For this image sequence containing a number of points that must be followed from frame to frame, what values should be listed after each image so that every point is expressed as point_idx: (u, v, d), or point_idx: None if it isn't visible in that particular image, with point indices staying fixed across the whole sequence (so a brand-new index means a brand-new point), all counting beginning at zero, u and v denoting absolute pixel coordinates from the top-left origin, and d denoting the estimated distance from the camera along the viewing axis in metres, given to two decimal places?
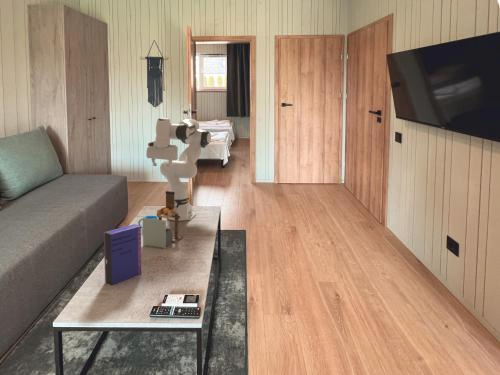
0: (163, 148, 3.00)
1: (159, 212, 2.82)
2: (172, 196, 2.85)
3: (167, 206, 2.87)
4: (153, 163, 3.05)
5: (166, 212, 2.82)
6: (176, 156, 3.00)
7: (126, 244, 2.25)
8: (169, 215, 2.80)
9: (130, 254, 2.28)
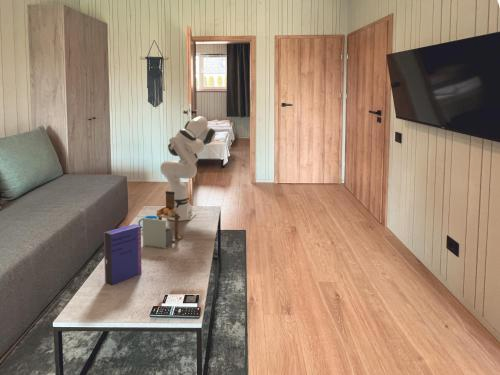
0: None
1: (159, 212, 2.82)
2: (172, 196, 2.85)
3: (167, 206, 2.87)
4: (180, 162, 2.84)
5: (166, 212, 2.82)
6: None
7: (126, 244, 2.25)
8: (169, 215, 2.80)
9: (130, 254, 2.28)
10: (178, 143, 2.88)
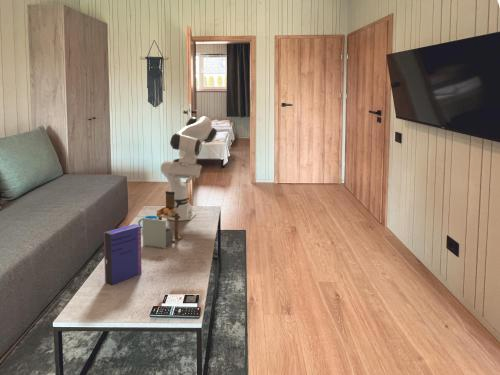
0: (187, 164, 3.00)
1: (159, 212, 2.82)
2: (172, 196, 2.85)
3: (167, 206, 2.87)
4: (172, 178, 2.98)
5: (166, 212, 2.82)
6: (198, 173, 2.97)
7: (126, 244, 2.25)
8: (169, 215, 2.80)
9: (130, 254, 2.28)
10: None
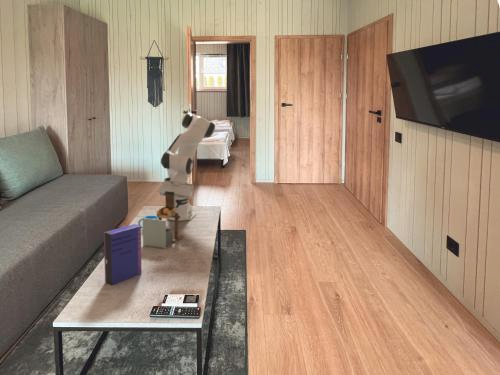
0: (179, 184, 2.91)
1: (159, 212, 2.82)
2: (172, 196, 2.85)
3: (167, 206, 2.87)
4: None
5: (166, 212, 2.82)
6: (190, 193, 2.88)
7: (126, 244, 2.25)
8: (169, 216, 2.80)
9: (130, 254, 2.28)
10: None
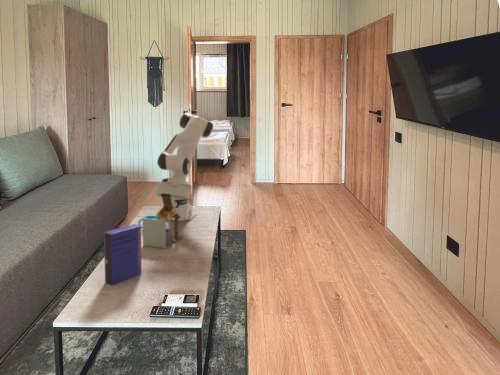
0: (177, 185, 2.88)
1: (158, 216, 2.82)
2: (168, 198, 2.81)
3: (165, 206, 2.85)
4: None
5: None
6: (188, 194, 2.85)
7: (126, 244, 2.25)
8: (169, 219, 2.80)
9: (130, 254, 2.28)
10: None
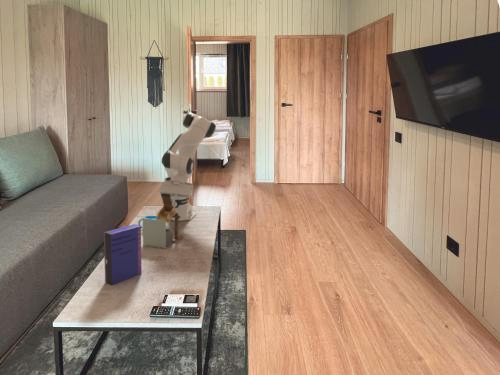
0: (179, 183, 2.93)
1: (158, 216, 2.82)
2: (168, 198, 2.81)
3: (165, 206, 2.85)
4: None
5: None
6: (190, 193, 2.90)
7: (126, 244, 2.25)
8: (169, 219, 2.80)
9: (130, 254, 2.28)
10: None
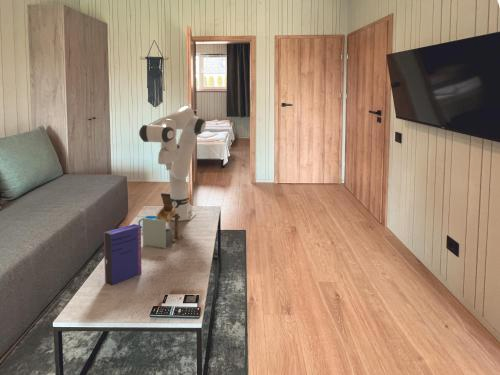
0: None
1: (158, 216, 2.82)
2: (168, 198, 2.81)
3: (165, 206, 2.85)
4: None
5: None
6: (160, 160, 2.81)
7: (126, 244, 2.25)
8: (169, 219, 2.80)
9: (130, 254, 2.28)
10: (167, 160, 2.85)
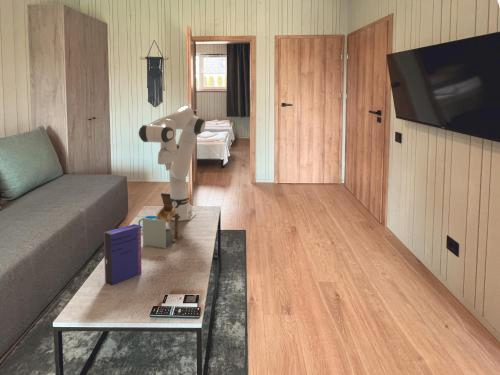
0: None
1: (158, 216, 2.82)
2: (168, 198, 2.81)
3: (165, 206, 2.85)
4: None
5: None
6: (159, 160, 2.81)
7: (126, 244, 2.25)
8: (169, 219, 2.80)
9: (130, 254, 2.28)
10: (167, 160, 2.85)
